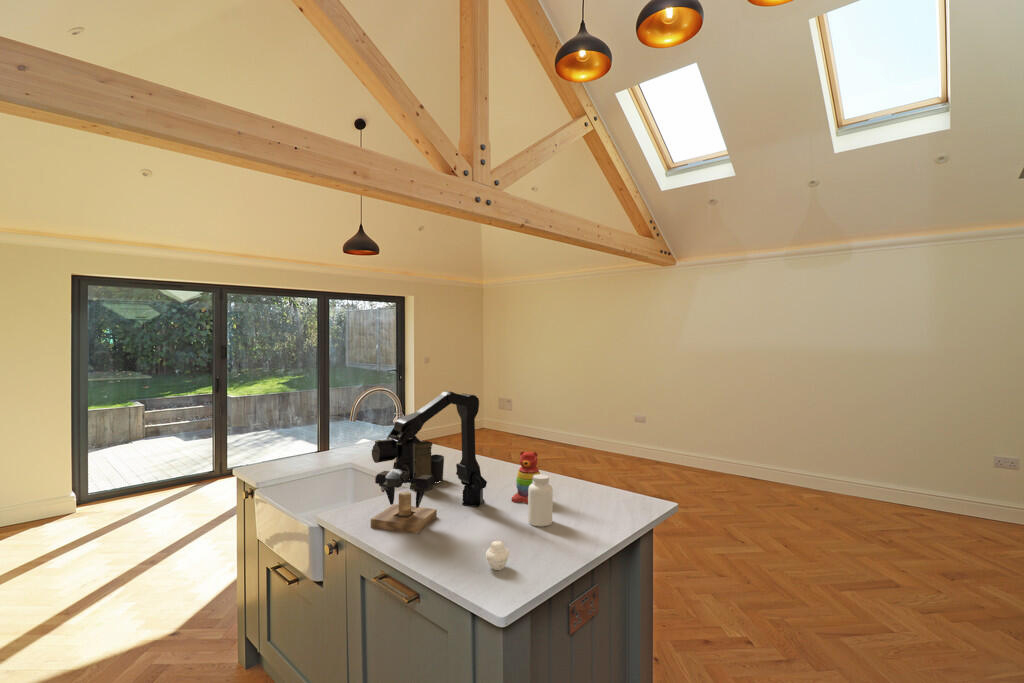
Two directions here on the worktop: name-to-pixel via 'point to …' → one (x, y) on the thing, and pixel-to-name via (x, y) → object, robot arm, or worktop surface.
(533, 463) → the stacking bear
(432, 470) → the pen holder
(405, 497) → the peg
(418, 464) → the container
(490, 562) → the cream rounded piece
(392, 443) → the robot arm
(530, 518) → the pill bottle
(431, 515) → the board
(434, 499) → the worktop surface
